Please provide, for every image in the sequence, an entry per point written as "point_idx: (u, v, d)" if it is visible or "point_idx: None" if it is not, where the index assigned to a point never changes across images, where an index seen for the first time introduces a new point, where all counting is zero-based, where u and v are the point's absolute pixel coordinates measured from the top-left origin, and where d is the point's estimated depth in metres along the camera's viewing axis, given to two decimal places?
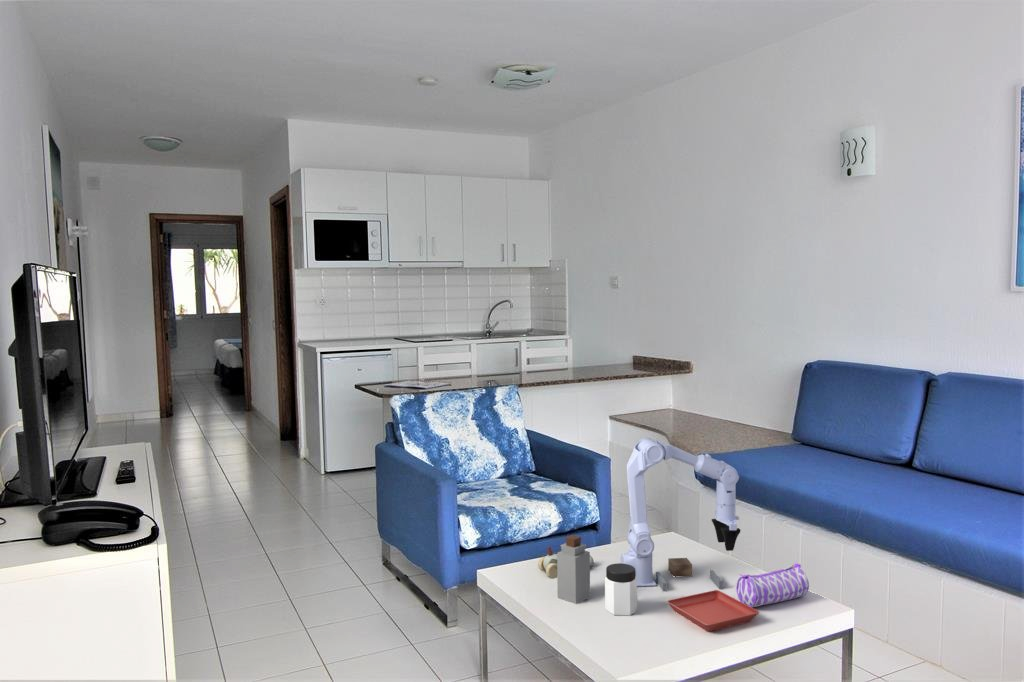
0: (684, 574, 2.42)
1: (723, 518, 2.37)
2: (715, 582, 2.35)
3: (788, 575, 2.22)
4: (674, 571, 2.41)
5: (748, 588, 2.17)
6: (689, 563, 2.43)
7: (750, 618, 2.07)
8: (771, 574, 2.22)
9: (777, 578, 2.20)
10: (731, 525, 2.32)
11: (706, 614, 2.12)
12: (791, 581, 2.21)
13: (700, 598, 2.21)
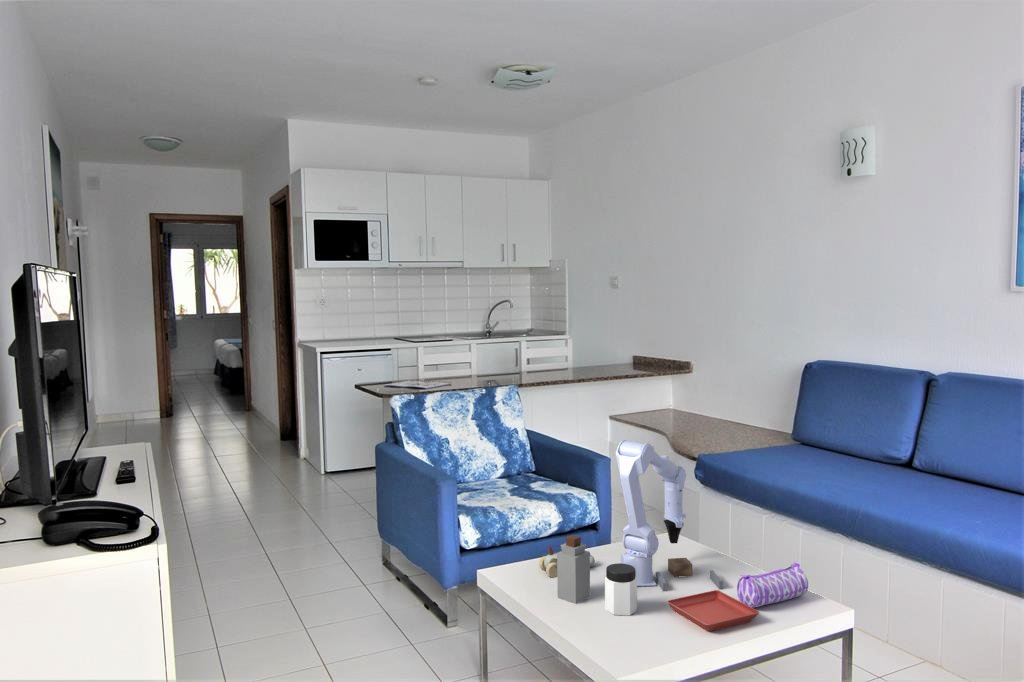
0: (684, 574, 2.42)
1: (670, 516, 2.49)
2: (715, 582, 2.35)
3: (787, 575, 2.22)
4: (675, 571, 2.41)
5: (749, 589, 2.16)
6: (689, 562, 2.43)
7: (750, 618, 2.07)
8: (771, 574, 2.22)
9: (777, 578, 2.20)
10: (677, 523, 2.44)
11: (706, 614, 2.12)
12: (791, 581, 2.21)
13: (700, 598, 2.21)
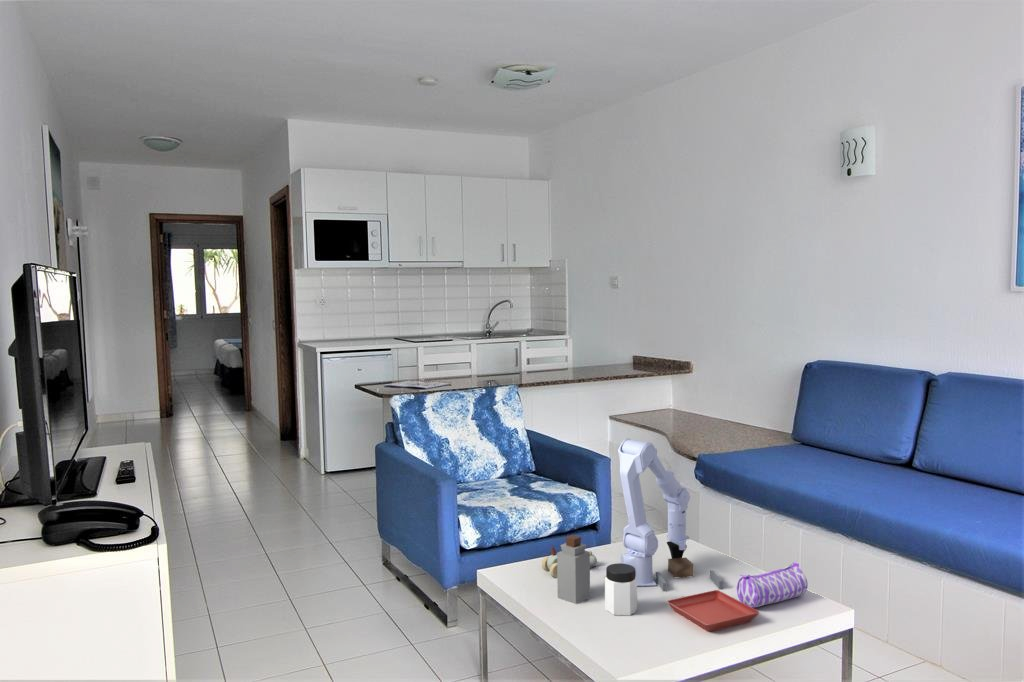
0: (685, 574, 2.41)
1: (674, 538, 2.46)
2: (715, 582, 2.35)
3: (787, 575, 2.23)
4: (676, 571, 2.41)
5: (749, 589, 2.16)
6: (690, 562, 2.43)
7: (750, 618, 2.07)
8: (771, 574, 2.22)
9: (777, 578, 2.20)
10: (680, 545, 2.41)
11: (706, 614, 2.12)
12: (790, 581, 2.21)
13: (700, 598, 2.21)
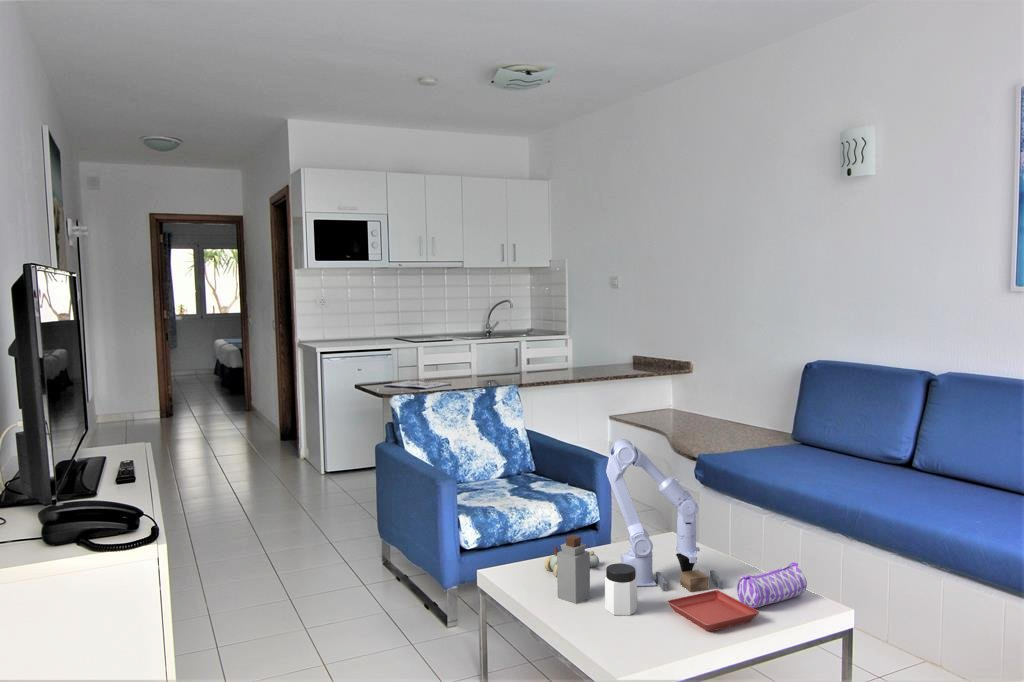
0: (700, 587, 2.30)
1: (683, 550, 2.34)
2: (715, 582, 2.35)
3: (786, 575, 2.23)
4: (691, 585, 2.29)
5: (750, 589, 2.16)
6: (704, 575, 2.32)
7: (750, 618, 2.07)
8: (770, 574, 2.22)
9: (777, 578, 2.21)
10: (691, 558, 2.29)
11: (706, 614, 2.12)
12: (790, 581, 2.21)
13: (700, 598, 2.21)
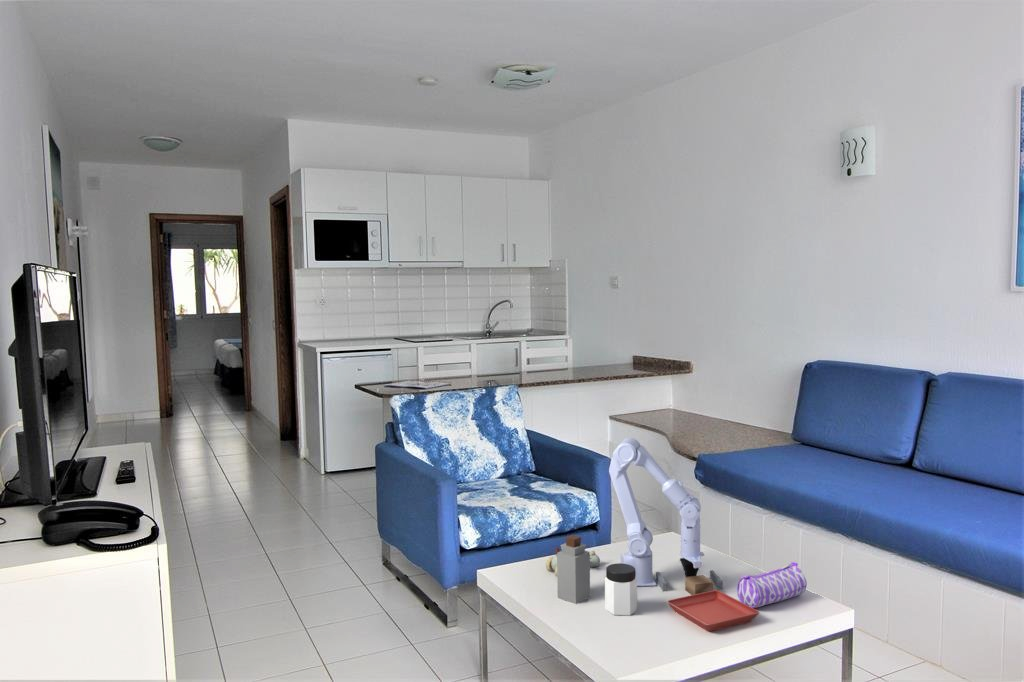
0: None
1: (687, 555, 2.30)
2: (715, 582, 2.35)
3: (786, 575, 2.23)
4: (696, 591, 2.25)
5: (750, 589, 2.16)
6: (709, 580, 2.28)
7: (750, 618, 2.08)
8: (770, 574, 2.22)
9: (777, 578, 2.21)
10: (695, 563, 2.25)
11: (706, 614, 2.12)
12: (790, 580, 2.21)
13: (700, 598, 2.21)
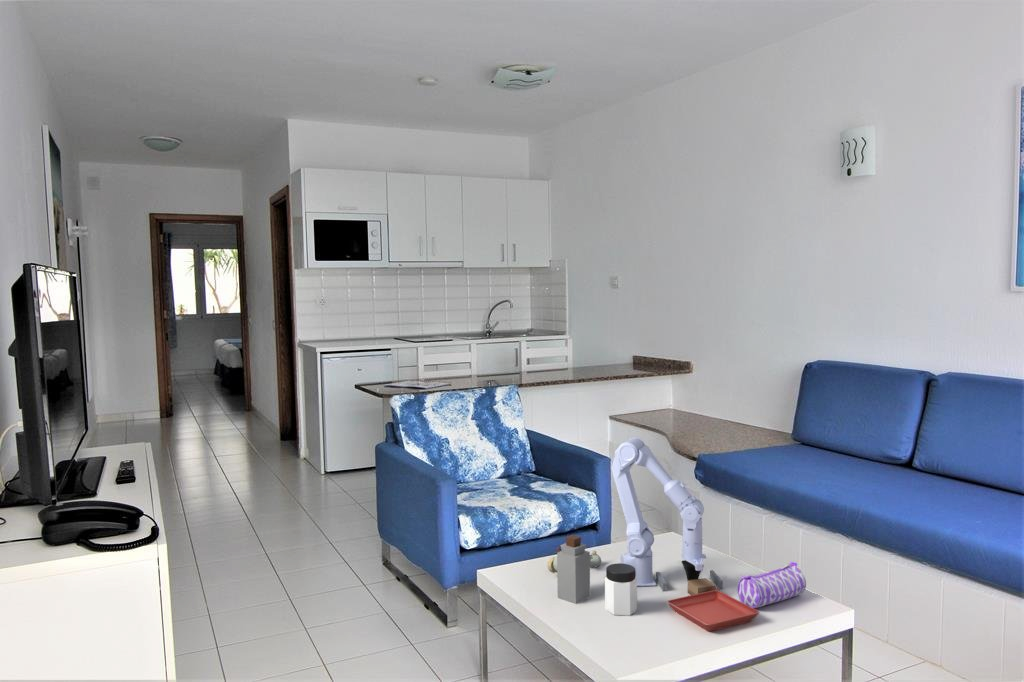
0: None
1: (689, 557, 2.28)
2: (715, 582, 2.35)
3: (786, 575, 2.23)
4: None
5: (750, 589, 2.16)
6: (712, 583, 2.26)
7: (750, 618, 2.08)
8: (770, 574, 2.22)
9: (777, 578, 2.21)
10: (697, 565, 2.23)
11: (706, 614, 2.12)
12: (790, 580, 2.22)
13: (700, 598, 2.21)
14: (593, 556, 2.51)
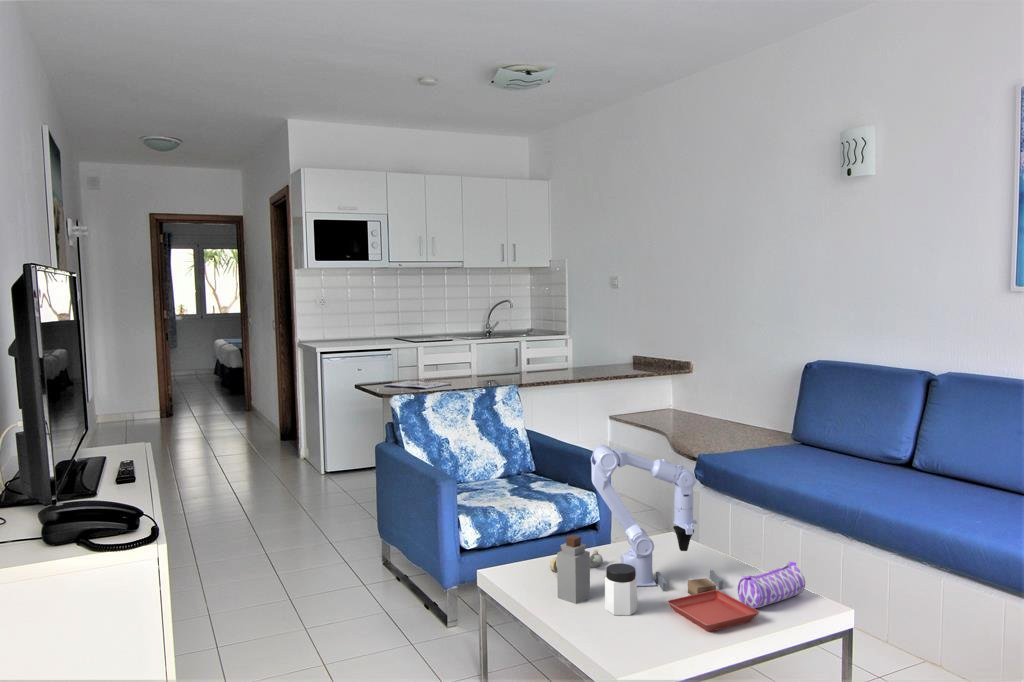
0: None
1: (680, 522, 2.35)
2: (715, 582, 2.35)
3: (786, 574, 2.23)
4: None
5: (751, 590, 2.16)
6: (712, 583, 2.26)
7: (750, 618, 2.08)
8: (770, 574, 2.22)
9: (777, 578, 2.21)
10: (687, 529, 2.30)
11: (706, 614, 2.12)
12: (789, 580, 2.22)
13: (700, 598, 2.21)
14: (595, 556, 2.51)
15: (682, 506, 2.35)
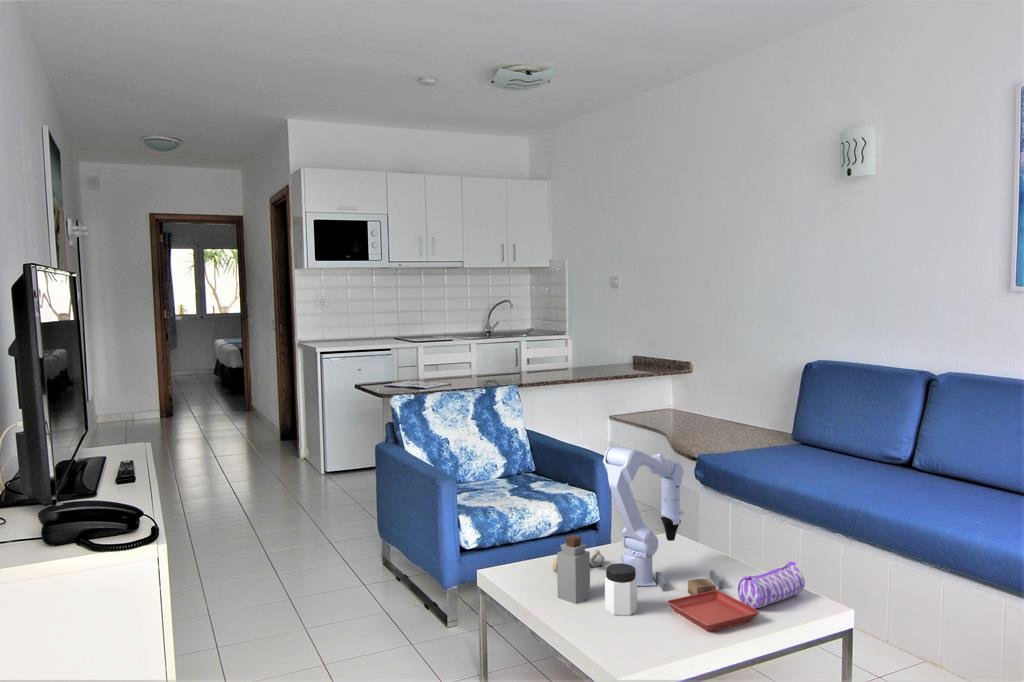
0: None
1: (667, 513, 2.45)
2: (715, 582, 2.35)
3: (785, 574, 2.23)
4: None
5: (751, 590, 2.16)
6: (712, 584, 2.25)
7: (750, 618, 2.08)
8: (770, 574, 2.22)
9: (777, 577, 2.21)
10: (674, 519, 2.40)
11: (706, 614, 2.12)
12: (789, 580, 2.22)
13: (700, 598, 2.21)
14: (597, 555, 2.52)
15: (675, 497, 2.44)
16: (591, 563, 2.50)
